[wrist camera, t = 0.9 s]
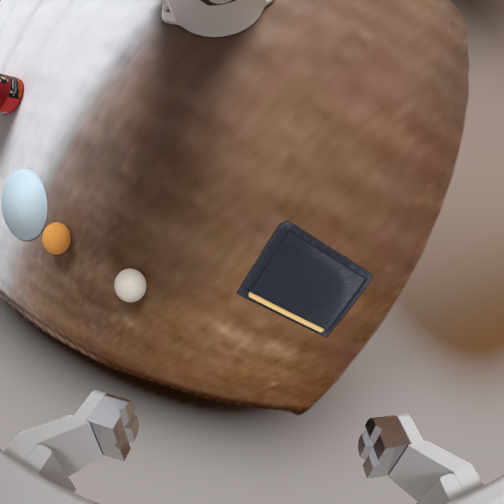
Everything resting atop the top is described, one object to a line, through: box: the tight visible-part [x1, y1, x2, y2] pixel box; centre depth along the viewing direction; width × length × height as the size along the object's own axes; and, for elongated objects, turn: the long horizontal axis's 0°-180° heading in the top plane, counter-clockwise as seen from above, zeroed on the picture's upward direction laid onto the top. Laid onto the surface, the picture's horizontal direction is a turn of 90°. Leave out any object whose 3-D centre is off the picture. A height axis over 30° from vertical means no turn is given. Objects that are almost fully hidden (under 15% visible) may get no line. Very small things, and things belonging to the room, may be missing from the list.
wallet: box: [237, 221, 372, 337], centre depth 48 cm, size 20×2×15 cm
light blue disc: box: [2, 169, 48, 240], centre depth 41 cm, size 14×14×1 cm
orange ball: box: [42, 222, 71, 255], centre depth 41 cm, size 6×6×6 cm
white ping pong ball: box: [114, 269, 146, 302], centre depth 44 cm, size 6×6×6 cm
